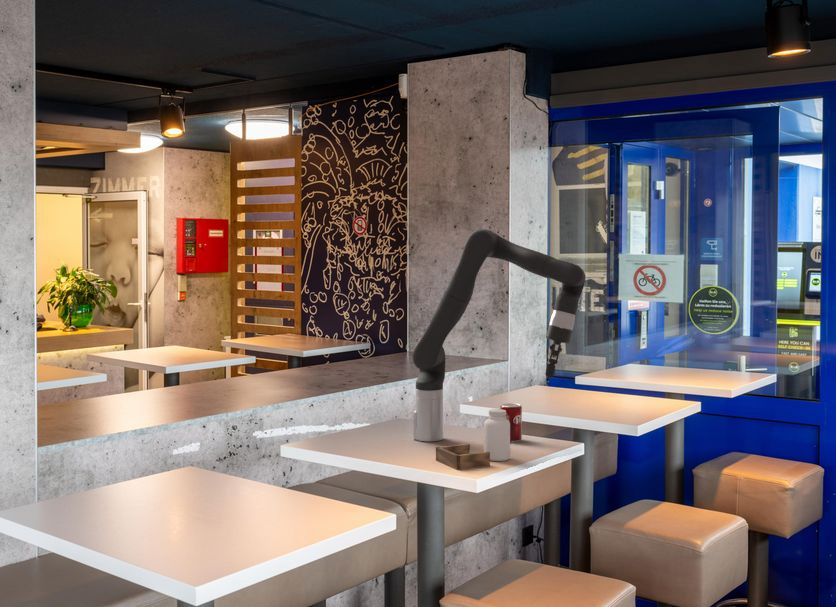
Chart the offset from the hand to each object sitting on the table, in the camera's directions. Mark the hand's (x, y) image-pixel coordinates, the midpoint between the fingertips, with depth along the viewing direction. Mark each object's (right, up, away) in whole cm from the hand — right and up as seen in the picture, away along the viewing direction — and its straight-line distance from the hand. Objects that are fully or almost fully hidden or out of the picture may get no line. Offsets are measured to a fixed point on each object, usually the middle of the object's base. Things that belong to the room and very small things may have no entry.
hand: (548, 376), depth 287 cm
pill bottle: (-17, -25, -7) cm, 31 cm away
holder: (-27, -25, -12) cm, 39 cm away
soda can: (-10, -23, +19) cm, 32 cm away
